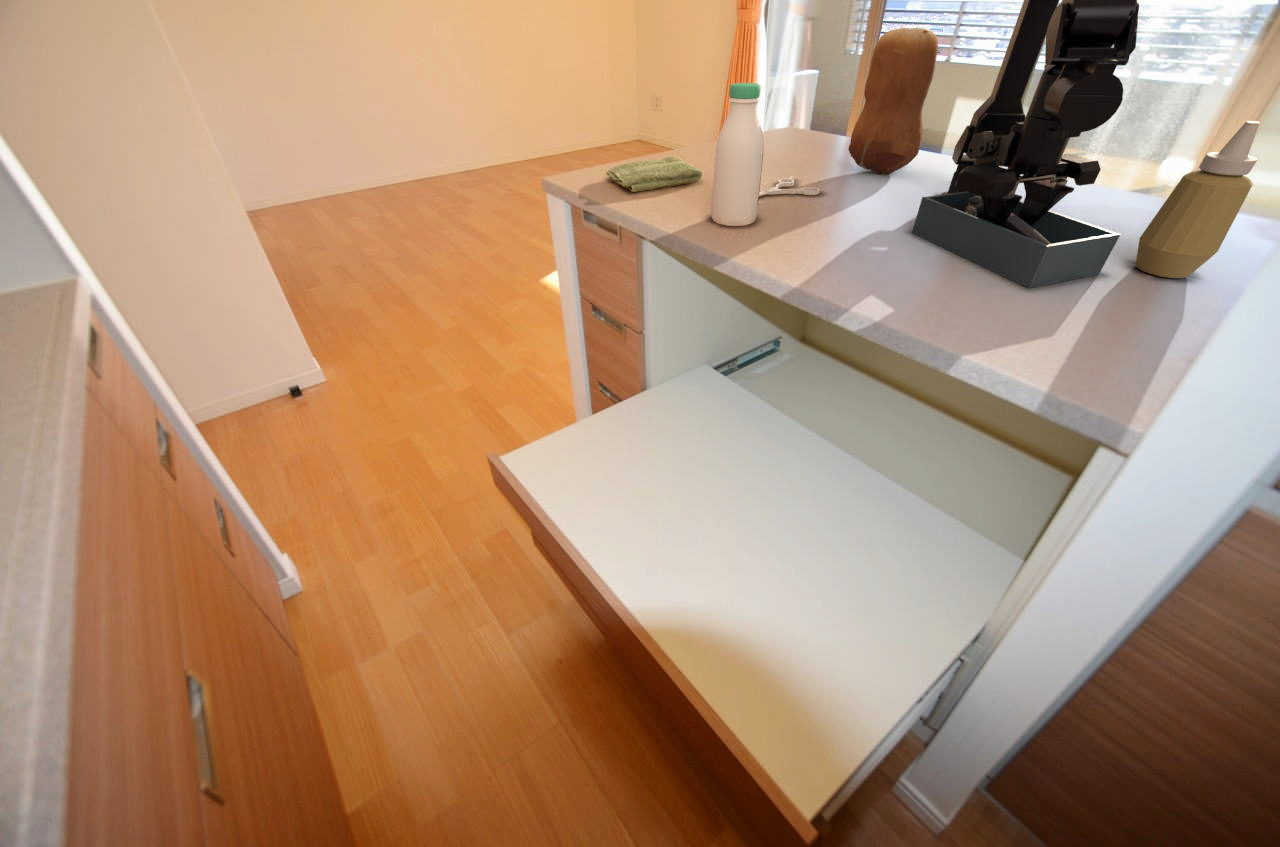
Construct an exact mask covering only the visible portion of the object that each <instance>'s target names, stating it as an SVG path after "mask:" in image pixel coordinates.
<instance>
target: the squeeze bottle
mask: <svg viewBox="0 0 1280 847" xmlns="http://www.w3.org/2000/svg"><path fill="white" fill-rule="evenodd" d="M1260 123H1261V122H1260V121H1257V120H1256V121H1255V120H1246V121H1245V122H1244V124H1243V125H1242V126H1241V127H1239V129H1238V130H1237V131H1236V132H1235V134H1233V136H1232V137H1231V138H1230V139H1229V140H1228V142H1226V144H1225V145H1224V146H1223V147H1222V148H1221V149H1220V151H1219V152H1218V151H1213V152H1212V151H1211V152H1208V153H1206V154H1205V156H1204V158H1202V161H1201V163H1200V164H1199V166H1198V168H1199V169H1197V170H1193V171H1190V172H1187V173H1185V174H1184V175H1183V176H1182V177H1181V179H1180V180H1179V182H1178V183H1177V184H1176V186H1175V187H1174V188H1173V190H1172V191H1171V193H1170V194H1169V195H1168V197H1167V199H1166V200H1165V201H1164V202H1163V204H1162V205H1161V207H1160V209H1159V210H1158V212H1157V213H1156V214H1155V215H1154V217H1153V218H1152V220H1151V221H1150V223H1149V224H1148V226H1147V227H1146V228H1145V230H1144V231H1143V233H1142V234H1141V236H1140V237H1139V240H1138V246H1137V253H1136V260H1135V267H1136V268H1137V269H1139V270H1140V271H1142V272H1145V273H1147V274H1150V275H1154V276H1157V277H1161V278H1162V277H1163V278H1169V279H1184V278H1189V276H1190V275H1192V274H1193V273H1195V272H1196V271H1197V270H1198V269H1199V268H1200V267H1202V266H1203V265H1204V264H1205V263H1206V262H1207V261H1209V260H1210V259H1211V258H1212V257H1213V256H1215V255H1216V254H1217V253H1218V252H1219V250H1220V248H1221V246H1222V244H1223V243H1224V240H1225V238H1226V237H1227V235H1228V233H1229V231H1230V230H1231V228H1232V225H1233V223H1234V221H1235V220H1236V218H1237V216H1238V214H1239V212H1240V211H1241V208H1242V206H1243V204H1244V202H1245V200H1246V199H1247V197H1248V194H1249V193H1250V191H1251V189H1252V188H1253V185H1254V184H1253V181H1252V180H1251V178H1249V177H1248V176H1247V175H1248V174H1250V173H1251V171H1252V170H1253V168H1254V166H1255V165H1256V163H1257V161H1258V158H1257V157H1255V156H1253V155H1249V154H1250V151H1251V148H1252V145H1253V143H1254V140H1255V137H1256V134H1257V132H1258V129H1259V126H1260Z"/></svg>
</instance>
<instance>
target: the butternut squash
mask: <svg viewBox="0 0 1280 847" xmlns="http://www.w3.org/2000/svg"><path fill="white" fill-rule="evenodd" d="M938 49H939V41H938V37H937V35H936V34H935V33H934V32H933V31H932V30H930V29H926V28H924V27H923V28H922V27H911V28H910V27H901V28H894V29H891V30H888V31H886V32H885V33H883V34H882V35H881V36H880V37H879V39H878V41H877V43H876V45H875V47H874V49H873V52H872V56H871V60H870V64H869V71H868V76H867V79H866V82H865V84H864V98H865V103H864V105H863V107H862V111H861V112H860V114H859V116H858V118H857V120H856V122H855V124H854V127H853V130H852V132H851V137H850V143H849V145H848V149H847V150H848V153H849V154H850V157H851V158H852V159H853V161H854V162H855V164H856V165H857V166H858V167H860V168H862V169H864V170H866V171H867V170H868V171H871V172H872V173H874V174H878V175H892V174H893V173H894V172H897V171H899V170H901V169H902V168H904V167H905V166H907V165H909V164H910V163H911V162H913V160H915V158H916V157H917V156H918V154H919V152H920V149H921V145H922V143H923V139H924V138H923V137H924V126H923V108H924V104H925V101H926V98H927V95H928V93H929V90H930V87H931V84H932V81H933V78H934V74H935V70H936V62H937V57H938V51H939V50H938Z"/></svg>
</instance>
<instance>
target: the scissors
mask: <svg viewBox="0 0 1280 847" xmlns="http://www.w3.org/2000/svg"><path fill="white" fill-rule="evenodd" d="M794 184H795V176H794V175H790V177H788V178H787V177H786V178H779V179H778V180H777V183H776V184H775V186H772V187H768V188H767V189H765V190H762V191H759V197H761V196H764V195H766V196H768V195H781V194H788V195H795V194H799V195H805V196H815V195H819V194H820V192H821V188H819V187H815V186H803V187H801V188H797V189H789V188H787V189H785V188H783V187H793V186H794Z"/></svg>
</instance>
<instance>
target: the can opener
mask: <svg viewBox="0 0 1280 847" xmlns="http://www.w3.org/2000/svg"><path fill="white" fill-rule="evenodd" d="M962 211H963V212H965V213H968V214H970V215H973V216H975V217H978V218H981V219H983V220H984V205H983V200H982V198H981V197H980V196H975V197H972V198H970V199H969V200H967V201H966V203H965V204H964V207H963V210H962ZM1003 228H1006V229H1008V230H1011V231H1014V232H1016V233H1019V234H1021V235H1024V236H1026V237H1029V238H1031V239H1034V240H1036V241H1039V242H1041V243H1044V244H1047V245H1048V244H1051V243H1050V242H1049V241H1048V240H1046V239H1045V238H1044V237H1043V236H1042V235H1041V234H1040V233H1039V232H1037V231H1036V230H1035V229H1034V228H1032V227H1031V226H1030V225H1028V224H1027V223H1026V222H1025V221H1023V220H1022V219H1020V218H1019V217H1018V216H1016V215H1015V214H1013V213H1011V215H1010V216H1009V218H1008V219H1007V221H1006V222H1005V224H1004V225H1003Z"/></svg>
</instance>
